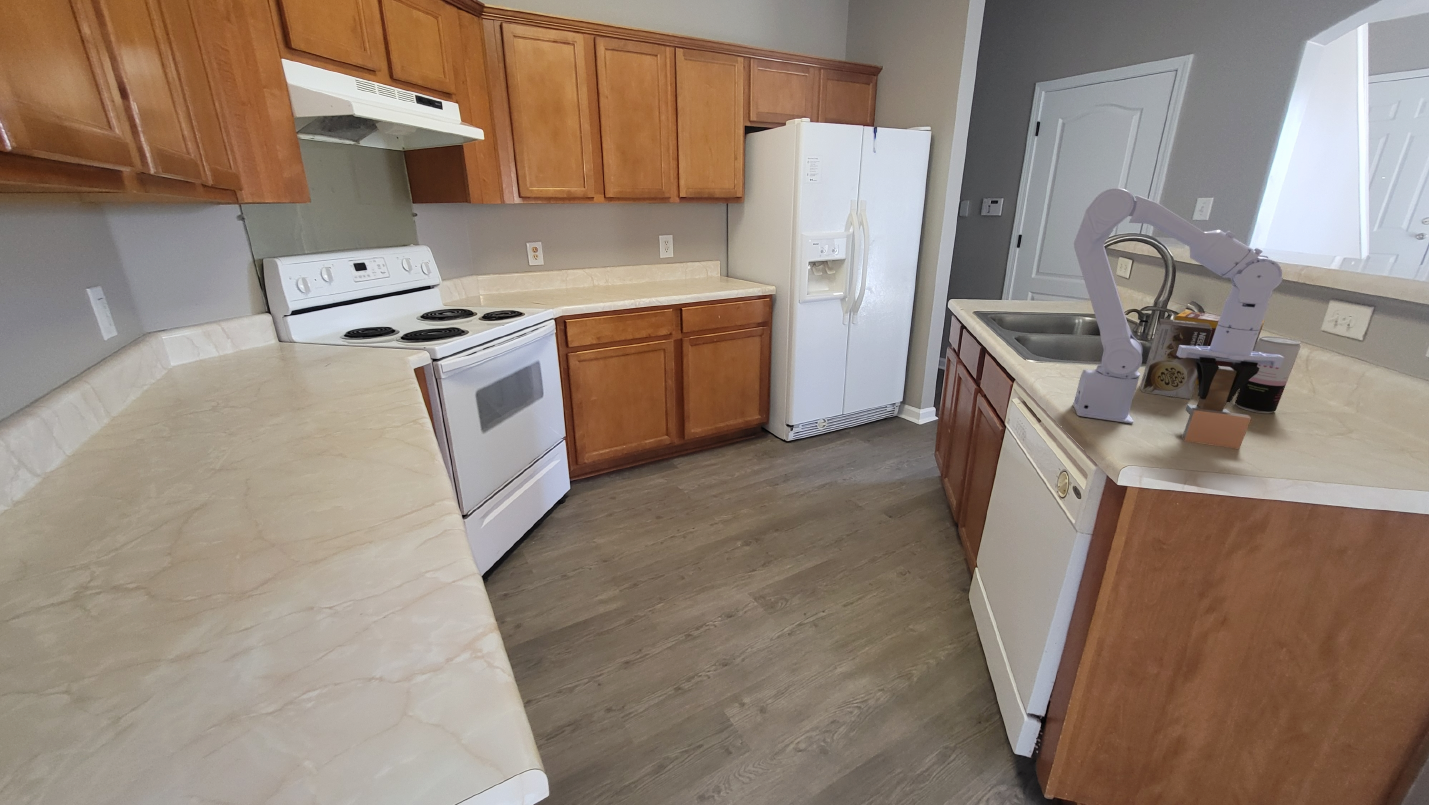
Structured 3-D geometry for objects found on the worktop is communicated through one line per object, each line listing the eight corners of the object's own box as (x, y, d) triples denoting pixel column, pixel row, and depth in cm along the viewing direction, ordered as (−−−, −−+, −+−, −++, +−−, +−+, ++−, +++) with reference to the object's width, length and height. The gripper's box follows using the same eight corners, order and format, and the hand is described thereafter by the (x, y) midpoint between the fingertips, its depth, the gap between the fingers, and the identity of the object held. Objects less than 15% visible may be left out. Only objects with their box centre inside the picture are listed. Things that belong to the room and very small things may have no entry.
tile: (1184, 441, 105) (1194, 410, 103) (1182, 437, 106) (1192, 407, 104) (1239, 449, 102) (1251, 418, 100) (1236, 445, 103) (1247, 414, 101)
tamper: (1190, 415, 107) (1205, 368, 104) (1185, 410, 109) (1200, 363, 106) (1230, 420, 105) (1247, 372, 101) (1224, 415, 107) (1240, 368, 104)
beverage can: (1244, 401, 125) (1269, 334, 120) (1281, 411, 120) (1309, 342, 115) (1227, 405, 123) (1251, 337, 118) (1264, 415, 117) (1291, 344, 112)
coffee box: (1187, 392, 131) (1210, 323, 125) (1190, 400, 126) (1214, 328, 120) (1139, 384, 135) (1158, 317, 130) (1140, 392, 130) (1161, 322, 125)
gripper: (1195, 327, 100) (1172, 399, 105) (1302, 336, 95) (1273, 412, 99) (1183, 319, 106) (1161, 388, 111) (1283, 327, 101) (1256, 399, 106)
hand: (1213, 399), depth 106 cm, fingers closed on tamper, 3 cm apart
